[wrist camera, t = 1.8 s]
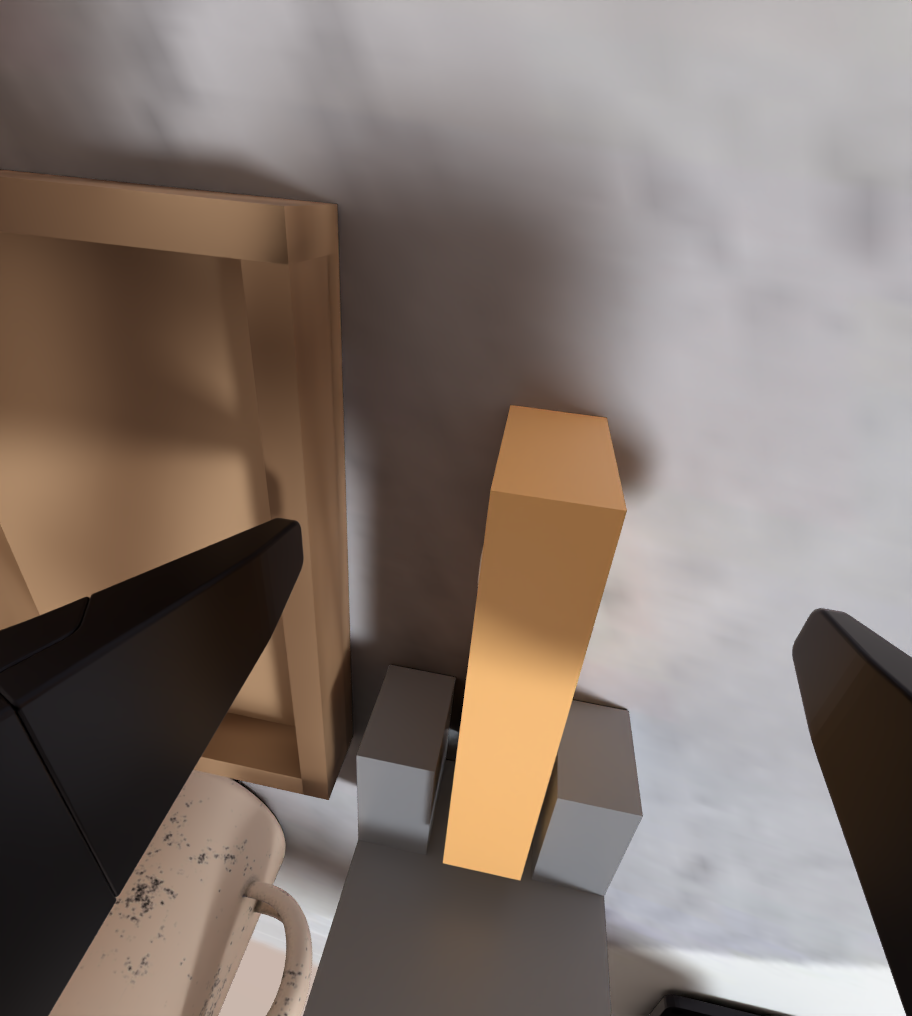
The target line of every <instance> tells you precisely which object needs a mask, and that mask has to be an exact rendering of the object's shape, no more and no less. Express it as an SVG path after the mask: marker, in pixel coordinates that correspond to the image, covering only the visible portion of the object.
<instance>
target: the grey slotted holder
mask: <svg viewBox="0 0 912 1016" xmlns="http://www.w3.org/2000/svg"><path fill="white" fill-rule="evenodd" d="M455 679H456V677H451V676H446V675H441V674H436V673H430V672H425V671H420V670H415V669H410V668H405V667H399V666H394V665H389V667H388V670H387V673H386V676H385V678H384V681H383V684H382V687H381V689H380V692H379V695H378V697H377V700H376V703H375V706H374V708H373V711H372V714H371V717H370V719H369V722H368V725H367V727H366V730H365V733H364V736H363V738H362V741H361V744H360V747H359V749H358V752H357V755H356V762H357V802H358V843H357V846H356V849H355V852H354V855H353V859H352V862H351V865H350V868H349V871H348V875H347V878H346V881H345V884H344V887H343V890H342V894H341V897H340V900H339V903H338V906H337V909H336V913H335V916H334V919H333V922H332V925H331V929H330V932H329V935H328V938H327V941H326V944H325V948H324V951H323V954H322V957H321V960H320V964H319V967H318V970H317V973H316V976H315V980H314V983H313V986H312V989H311V992H310V995H309V999H308V1002H307V1005H306V1008H305V1011H304V1015H303V1016H611V1002H610V985H609V969H608V953H607V937H606V920H605V904H604V895H605V893H606V891H607V889H608V887H609V885H610V883H611V881H612V879H613V877H614V875H615V873H616V870H617V868H618V866H619V864H620V862H621V860H622V858H623V856H624V854H625V852H626V850H627V848H628V846H629V844H630V842H631V839H632V837H633V835H634V833H635V831H636V829H637V827H638V825H639V823H640V821H641V819H642V817H643V815H642V807H641V799H640V792H639V784H638V777H637V769H636V762H635V754H634V746H633V739H632V731H631V724H630V716H629V711H627V710H621V709H616V708H611V707H606V706H601V705H596V704H590V703H585V702H580V701H575V700H572V703H571V706H570V710H569V713H568V717H567V720H566V724H565V727H564V731H563V734H562V738H561V741H560V745H559V748H558V751H557V755H556V758H555V762H554V765H553V769H552V772H551V776H550V779H549V783H548V786H547V790H546V793H545V797H544V800H543V804H542V807H541V811H540V814H539V817H538V821H537V824H536V828H535V831H534V835H533V838H532V842H531V845H530V849H529V852H528V856H527V859H526V863H525V866H524V870H523V873H522V877H521V880H516V879H511V878H507V877H502V876H498V875H493V874H489V873H485V872H480V871H476V870H471V869H467V868H462V867H458V866H453V865H449V864H444V863H443V857H444V850H445V842H446V834H447V826H448V818H449V811H450V803H451V795H452V787H453V779H454V772H455V764H456V762H454V761H449V760H446V754H447V745H448V737H449V729H450V720H451V712H452V704H453V695H454V687H455Z"/></svg>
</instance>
